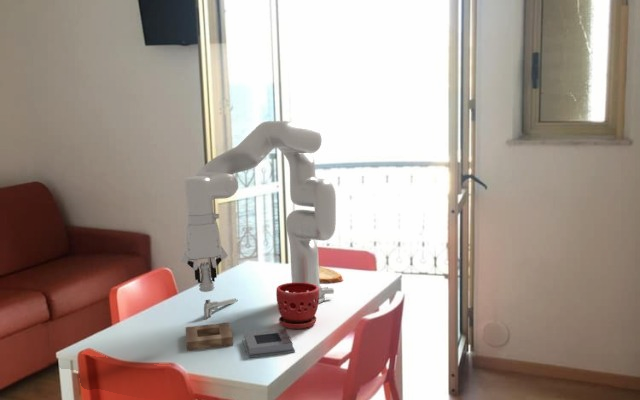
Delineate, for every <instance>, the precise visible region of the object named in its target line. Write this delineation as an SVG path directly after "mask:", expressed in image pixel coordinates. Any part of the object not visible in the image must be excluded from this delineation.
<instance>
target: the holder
mask: <svg viewBox="0 0 640 400" xmlns="http://www.w3.org/2000/svg"><path fill="white" fill-rule="evenodd" d="M243 334H244V339H243V340H242V342H243V346H244V350H245V352H246V356H247V359H252V358H258V357H267V356H275V355H283V354H290V353H291V354H293V353H296V350H295V348H294V346H293V341H292V340H291V338H290V336H289V334H288V332H287V329H285V328H284V329H274V330H273V329H272V330H265V331H257V332H248V333H243Z"/></svg>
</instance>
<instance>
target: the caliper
mask: <svg viewBox="0 0 640 400" xmlns="http://www.w3.org/2000/svg"><path fill="white" fill-rule="evenodd" d="M237 301H239V300H238V299H237V298H228V299H224V300H220V301H219V300H214V301H211V299H205V301H204V304H203V305H204V307H203V316H204V319H206V320H207V319H209V318H211V317H212V313H213V310H215V311H216V310H218V309H219V307H223V306H227V305H231V304H235V303H236V302H237Z"/></svg>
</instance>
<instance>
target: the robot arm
mask: <svg viewBox="0 0 640 400" xmlns="http://www.w3.org/2000/svg"><path fill="white" fill-rule="evenodd" d="M321 146H322V135H321V133H320V131H319V130H318V129H317V128H316V127H313V126H309V125H305V124H300V123H296V122H293V121H286V120H274V121H273V120H270V121H263V122H261V123H260V124H258V125H257V126H256V127H255V128H254V129H252V131H251V132H250V133H249V134H248V135H247V136H246V137H245V138H244V139H243V140H242V141H241V142H240V143H239V144H237V146H235V147H233V148H230V149H228V150H227V151H225V152H223V153H221V154H219V155H217V156H216V157H214V158H212V159H211V160H209V161H208V162H207V163H206V164H205V165H204V166H202V167H201V169H199V170H198V172H197V173H196V174H195V175H194V176H189V177H187V178H186V179H185V180H184V192H185V195H184V196H185V205H186V215H187V217H186V218H187V224H185V226H184V248H185V249H184V251H183V253H182V255H181V258H180V262H181V263H183V264H186V265H187V266H189V267H190V268H191V269H193V270H194V280H195V281H197V283H198V284H200V283H201V269H200V268H199V267H200V266H199V260H204V259H205V260H206V259H210V260H211V265H210V277H211V280H212V282H213V283H214V282H215V281H216V280H215V279H217V278H218V277H217V276H218V275H217V267H218V266H219V265H220V263H221V262H222V261H223V260H225V259H226V258H228V256H229V255H228V253H227V251H226V250H225V249H224V247H222V242H221V241H222V240H221V236H220V235H221V234H220V229H219V225H218V223H217V221H216V220H217V219H220V214H219V213H215V212H214V202H213V201H214V200H220V199H221V200H223V199H224V200H225V199H229V198H231V197H233V196H234V195H235V194H236V193H237V191H238V190H239V189H238V188H239V182H238V179H237V178H236V176H234V175H233V174H237V173H241V172H245V171H249V170H252V169H255V168H256V167H257V166H258V165H259V164H261V162H262V161H264V160H265V158H266V157H267V156H268V155H269V154H270V153H271V152H272V151H273V150H275V149H278V150H279V151H280V152H281V153H282V154H283V155H284V156H285V158H286V159H287V162H288V165H289V192H290V193H289V194H290V195H289V196H290V200H291V202H292V203H293V204H294V205H297V206H300V207H301V206H302V207H310V208H314V210H309V209H296V210H295V209H294V210H292V211H291V212H290V213H289V214H288V215H287V217H286V219H285V228H286V232H287V236H288V242H289V251H290V271H291V274H290V275H291V283H310V284H314V285H316V286H318V287H319V302H318V305H319V304H321V303H323V302H324V301H325V295H331V294H332V295H333V294H334V292H335V290H334V288H333V287H329V286H327V287H326V286H324V287H322V286H321V285H320V284H321V283H320V282H319V266H320V265H319V263H320V262H319V248H318V245H317V242H316V241H328V240H330V239H331V238H332V237H333V236H334V234H335V231H336V221H337V220H336V212H337V211H336V209H337V208H336V205H337V203H336V202H337V201H336V199H337V198H336V191H335V190H336V189H335V187H334V185H333V184H332V182H330V181H329V180H328V179H324V178H316V165H315V160H314V157H313V155H312V154H313V153H316V152H318V150H319V149H320V147H321ZM307 292H309V291H308V290H307ZM293 293H295V292H293ZM301 293H303V292H301ZM314 302H315V299H314Z"/></svg>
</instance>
